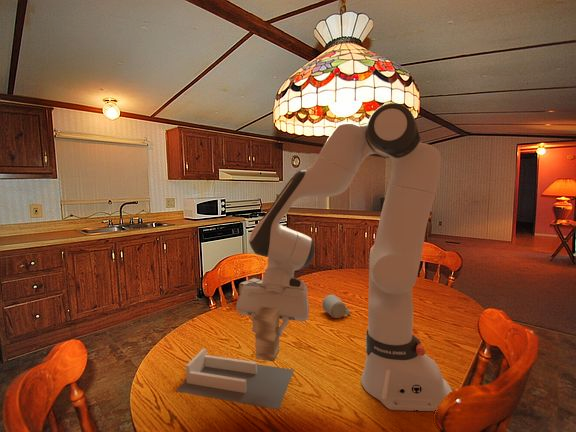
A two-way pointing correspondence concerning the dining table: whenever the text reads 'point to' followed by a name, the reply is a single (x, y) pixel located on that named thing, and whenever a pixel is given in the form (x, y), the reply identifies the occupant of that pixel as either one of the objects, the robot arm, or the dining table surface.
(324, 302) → the ceramic mug
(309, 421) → the dining table surface
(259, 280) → the puzzle cube
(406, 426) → the dining table surface
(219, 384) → the shelf lane
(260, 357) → the beech block
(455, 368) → the dining table surface
